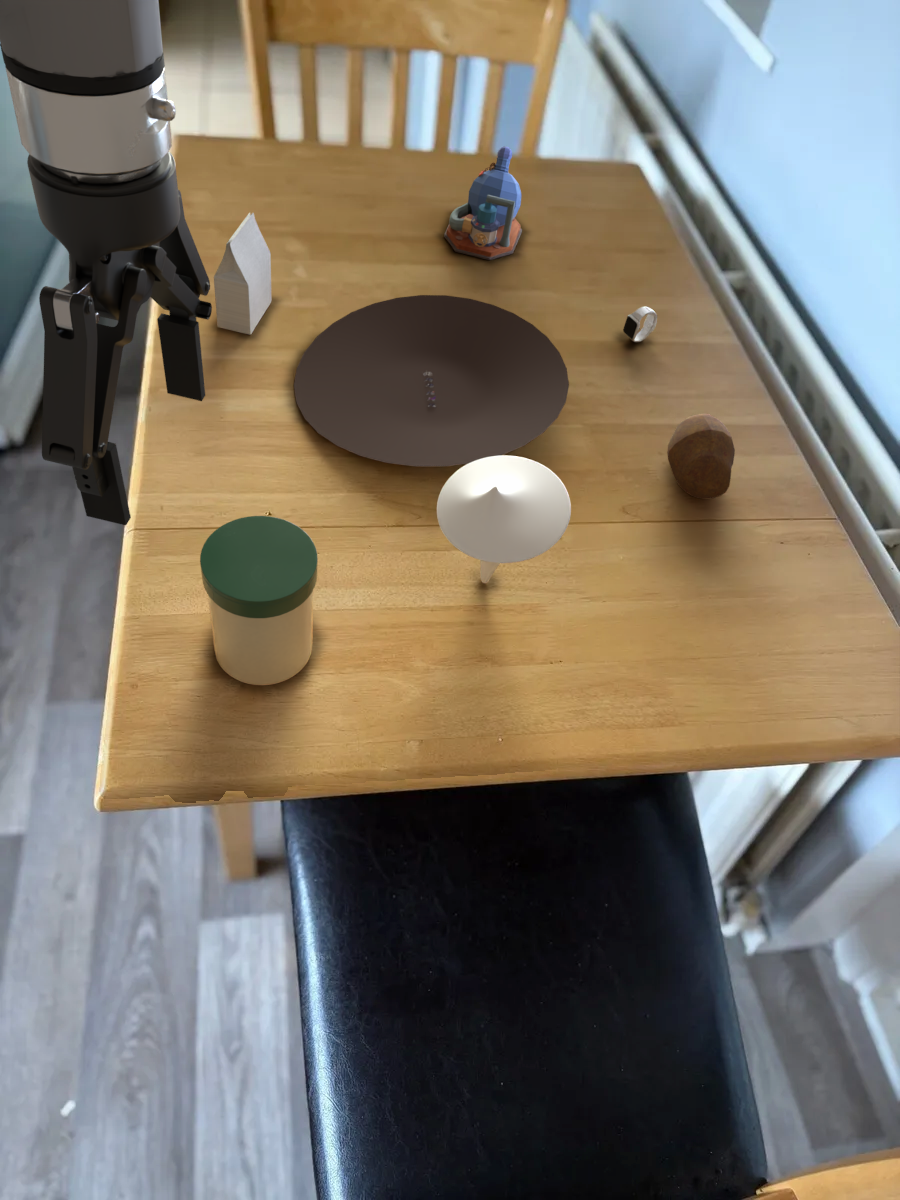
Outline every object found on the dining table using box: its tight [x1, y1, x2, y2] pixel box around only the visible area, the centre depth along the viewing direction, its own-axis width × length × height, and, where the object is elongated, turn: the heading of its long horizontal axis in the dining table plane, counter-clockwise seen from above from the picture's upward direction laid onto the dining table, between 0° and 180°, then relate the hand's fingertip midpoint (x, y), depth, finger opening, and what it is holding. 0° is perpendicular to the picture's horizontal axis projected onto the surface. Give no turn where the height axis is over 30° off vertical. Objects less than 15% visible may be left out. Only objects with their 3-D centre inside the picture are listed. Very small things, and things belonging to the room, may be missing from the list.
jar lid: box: [199, 515, 319, 618], centre depth 64 cm, size 8×8×2 cm
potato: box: [666, 413, 736, 500], centre depth 89 cm, size 7×10×6 cm
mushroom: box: [436, 455, 572, 584], centre depth 74 cm, size 10×11×12 cm
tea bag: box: [213, 212, 273, 336], centre depth 95 cm, size 4×7×10 cm, turn 168°
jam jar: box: [207, 590, 314, 686], centre depth 68 cm, size 8×8×10 cm
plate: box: [293, 294, 570, 467], centre depth 93 cm, size 28×28×4 cm
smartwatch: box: [622, 306, 658, 343], centre depth 104 cm, size 4×2×4 cm, turn 121°
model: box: [443, 145, 523, 261], centre depth 113 cm, size 12×9×9 cm
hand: (150, 452), depth 64 cm, fingers open, 13 cm apart
